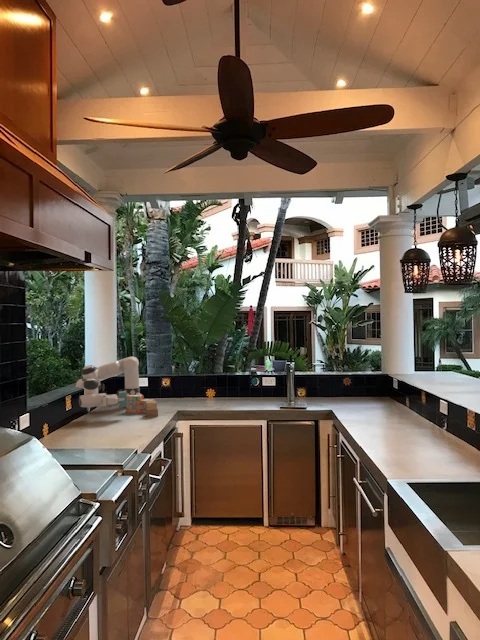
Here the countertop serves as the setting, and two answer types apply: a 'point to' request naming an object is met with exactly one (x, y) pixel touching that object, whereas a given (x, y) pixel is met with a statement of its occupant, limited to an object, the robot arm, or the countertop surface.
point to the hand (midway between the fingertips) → (124, 398)
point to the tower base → (151, 413)
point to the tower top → (151, 405)
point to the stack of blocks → (136, 403)
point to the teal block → (124, 402)
